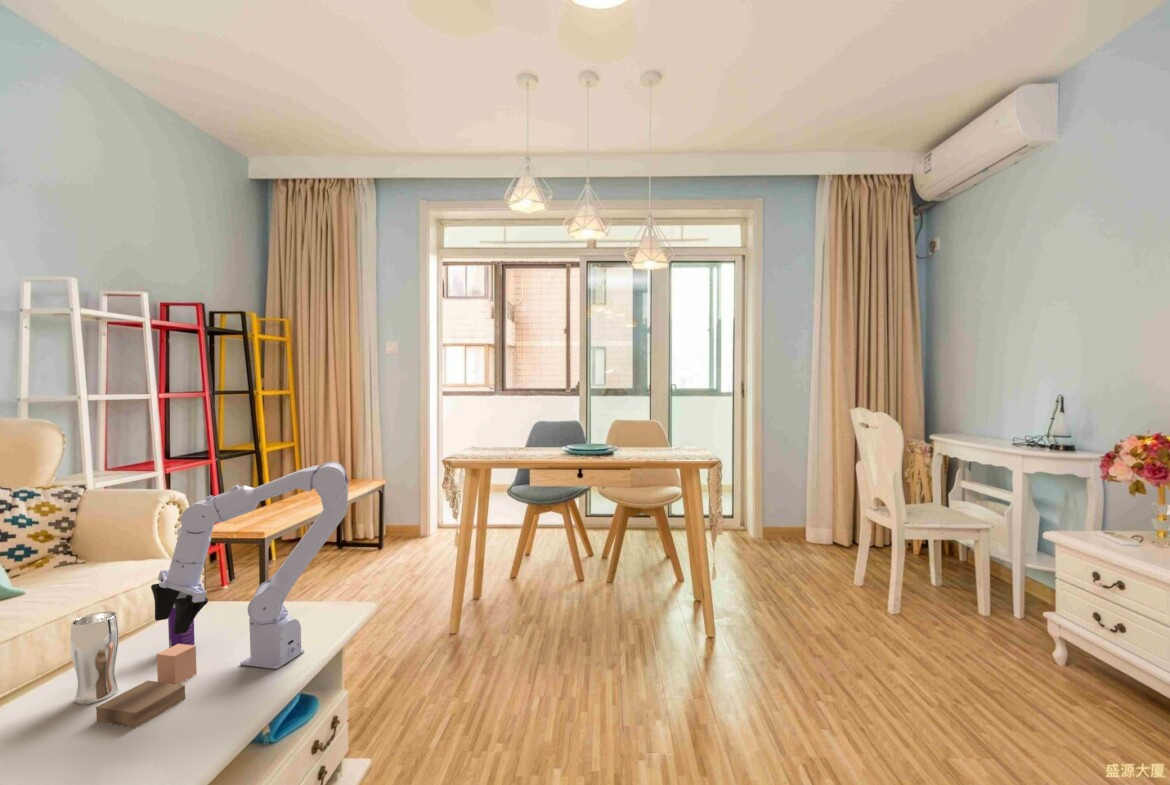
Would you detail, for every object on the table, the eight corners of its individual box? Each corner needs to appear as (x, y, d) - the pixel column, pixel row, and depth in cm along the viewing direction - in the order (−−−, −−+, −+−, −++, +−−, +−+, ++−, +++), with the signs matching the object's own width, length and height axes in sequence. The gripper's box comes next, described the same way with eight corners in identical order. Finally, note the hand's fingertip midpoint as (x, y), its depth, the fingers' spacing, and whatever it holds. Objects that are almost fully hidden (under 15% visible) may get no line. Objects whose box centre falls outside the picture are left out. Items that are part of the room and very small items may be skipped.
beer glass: (129, 689, 108) (126, 612, 108) (87, 709, 102) (84, 627, 101) (105, 683, 110) (103, 609, 110) (63, 702, 104) (60, 623, 104)
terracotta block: (196, 674, 113) (195, 645, 113) (175, 686, 109) (174, 656, 109) (179, 672, 114) (178, 643, 114) (157, 684, 110) (156, 654, 110)
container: (184, 652, 123) (182, 585, 123) (163, 653, 123) (161, 586, 123) (199, 643, 127) (197, 578, 127) (179, 643, 128) (177, 578, 127)
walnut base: (185, 701, 104) (184, 685, 104) (136, 730, 95) (135, 713, 95) (148, 695, 106) (147, 680, 106) (96, 723, 98) (96, 706, 98)
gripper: (149, 550, 114) (130, 617, 113) (186, 572, 107) (166, 643, 106) (186, 548, 120) (169, 611, 119) (223, 568, 113) (205, 635, 112)
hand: (170, 626), depth 113 cm, fingers open, 7 cm apart
